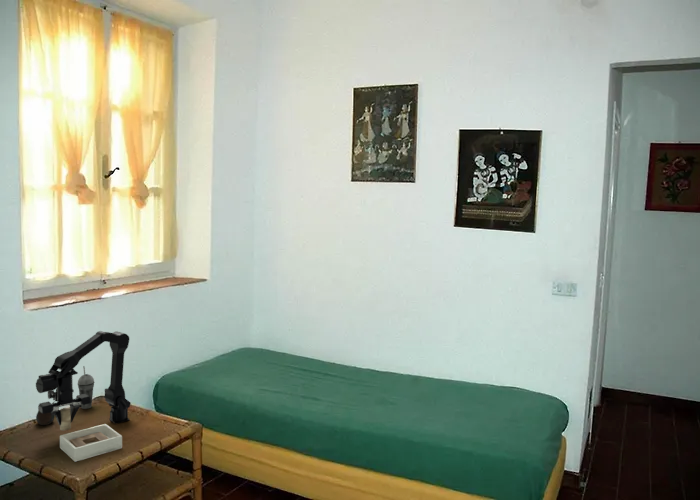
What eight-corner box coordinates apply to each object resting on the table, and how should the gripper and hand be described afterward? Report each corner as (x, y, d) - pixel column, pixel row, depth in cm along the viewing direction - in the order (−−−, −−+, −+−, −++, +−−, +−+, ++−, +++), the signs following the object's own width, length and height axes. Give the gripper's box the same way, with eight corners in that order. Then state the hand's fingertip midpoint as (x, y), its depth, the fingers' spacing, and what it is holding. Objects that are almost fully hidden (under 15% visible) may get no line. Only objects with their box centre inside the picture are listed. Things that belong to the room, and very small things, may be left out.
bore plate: (100, 436, 238) (100, 431, 238) (112, 446, 229) (112, 441, 229) (69, 444, 229) (69, 439, 229) (81, 455, 221) (81, 450, 221)
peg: (68, 425, 240) (68, 407, 239) (72, 428, 237) (72, 409, 237) (58, 428, 237) (58, 409, 237) (62, 431, 235) (61, 412, 234)
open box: (105, 435, 241) (105, 423, 241) (122, 448, 230) (122, 436, 230) (59, 447, 229) (59, 435, 228) (74, 461, 217) (74, 449, 217)
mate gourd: (38, 420, 255) (38, 398, 254) (57, 419, 256) (57, 397, 255) (33, 426, 248) (33, 404, 247) (53, 426, 249) (53, 403, 248)
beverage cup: (98, 405, 274) (97, 364, 272) (86, 410, 267) (86, 368, 265) (85, 403, 276) (85, 362, 274) (74, 408, 269) (73, 366, 267)
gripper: (81, 377, 248) (81, 412, 249) (33, 386, 235) (34, 423, 236) (91, 383, 240) (91, 420, 242) (42, 393, 227) (43, 432, 228)
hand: (65, 423), depth 237 cm, fingers closed on peg, 4 cm apart
